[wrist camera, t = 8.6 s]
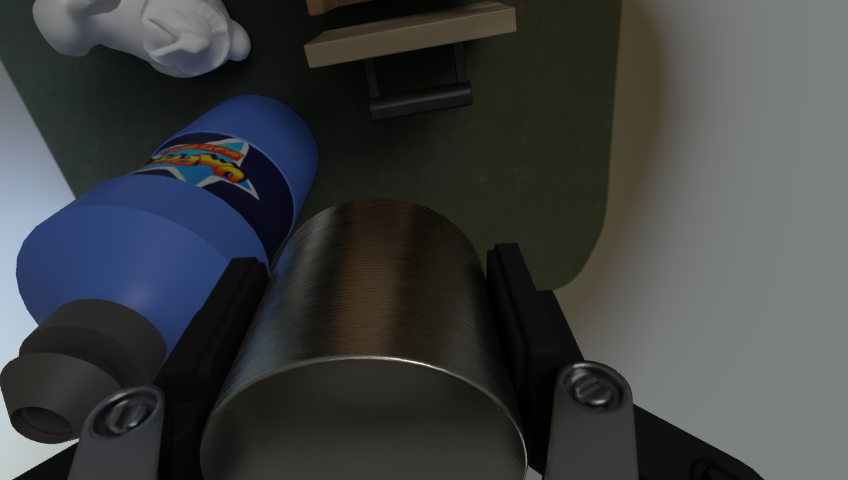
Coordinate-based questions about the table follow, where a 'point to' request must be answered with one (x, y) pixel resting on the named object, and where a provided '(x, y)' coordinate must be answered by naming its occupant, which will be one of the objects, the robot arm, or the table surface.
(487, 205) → the table surface
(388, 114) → the drawer
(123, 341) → the water bottle
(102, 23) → the grey animal figurine
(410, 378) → the tin
